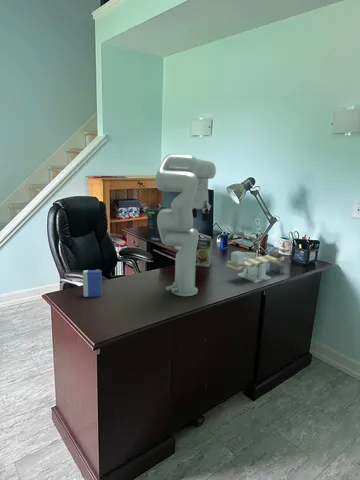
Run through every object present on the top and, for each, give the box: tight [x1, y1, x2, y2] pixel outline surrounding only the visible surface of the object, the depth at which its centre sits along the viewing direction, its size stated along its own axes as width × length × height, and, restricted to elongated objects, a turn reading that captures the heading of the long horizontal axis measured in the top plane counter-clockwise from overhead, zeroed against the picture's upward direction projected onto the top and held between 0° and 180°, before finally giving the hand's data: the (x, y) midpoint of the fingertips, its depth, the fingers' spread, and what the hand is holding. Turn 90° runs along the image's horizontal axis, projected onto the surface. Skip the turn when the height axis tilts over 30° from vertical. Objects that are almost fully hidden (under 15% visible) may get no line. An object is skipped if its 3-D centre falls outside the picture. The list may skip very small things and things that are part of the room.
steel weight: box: [230, 250, 246, 265], centre depth 174 cm, size 5×5×6 cm
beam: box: [226, 251, 285, 271], centre depth 183 cm, size 36×8×4 cm, turn 124°
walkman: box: [82, 269, 103, 298], centre depth 153 cm, size 8×3×12 cm, turn 96°
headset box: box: [147, 206, 167, 243], centre depth 257 cm, size 22×12×26 cm, turn 73°
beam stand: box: [237, 257, 285, 284], centre depth 187 cm, size 26×13×9 cm, turn 124°
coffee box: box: [196, 237, 213, 268], centre depth 201 cm, size 9×6×16 cm
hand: (199, 219), depth 182 cm, fingers open, 9 cm apart
